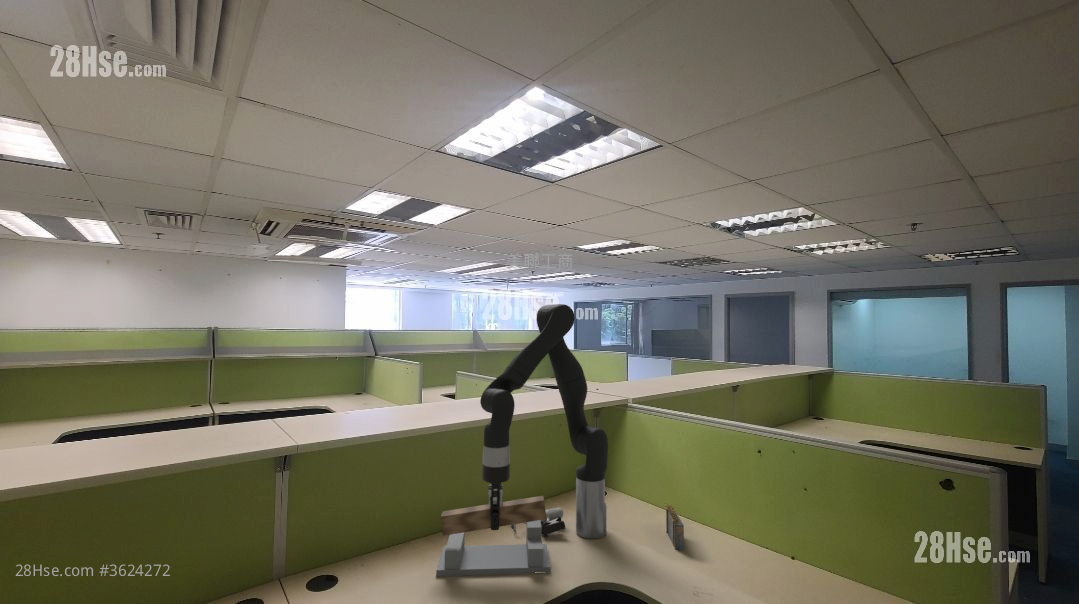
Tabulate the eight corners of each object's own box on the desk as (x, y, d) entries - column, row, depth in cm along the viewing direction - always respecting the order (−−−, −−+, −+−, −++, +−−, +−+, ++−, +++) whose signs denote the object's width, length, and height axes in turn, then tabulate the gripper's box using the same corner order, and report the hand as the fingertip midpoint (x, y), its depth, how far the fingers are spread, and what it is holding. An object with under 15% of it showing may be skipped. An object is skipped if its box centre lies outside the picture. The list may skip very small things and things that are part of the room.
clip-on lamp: (510, 546, 137) (566, 534, 136) (506, 527, 137) (562, 515, 136) (513, 526, 148) (565, 515, 148) (509, 508, 148) (561, 497, 148)
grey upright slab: (665, 533, 141) (664, 502, 141) (674, 534, 140) (674, 502, 141) (673, 551, 129) (673, 517, 130) (684, 551, 129) (683, 517, 130)
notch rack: (546, 549, 129) (546, 517, 130) (550, 572, 116) (550, 537, 117) (443, 551, 127) (444, 519, 128) (436, 576, 114) (437, 540, 115)
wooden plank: (545, 513, 122) (543, 495, 122) (546, 519, 119) (544, 500, 119) (444, 529, 120) (442, 511, 120) (442, 535, 116) (440, 516, 117)
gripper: (509, 469, 114) (508, 538, 112) (509, 454, 128) (508, 515, 127) (480, 469, 113) (479, 538, 112) (484, 454, 127) (482, 515, 126)
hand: (495, 525), depth 119 cm, fingers closed on wooden plank, 3 cm apart
